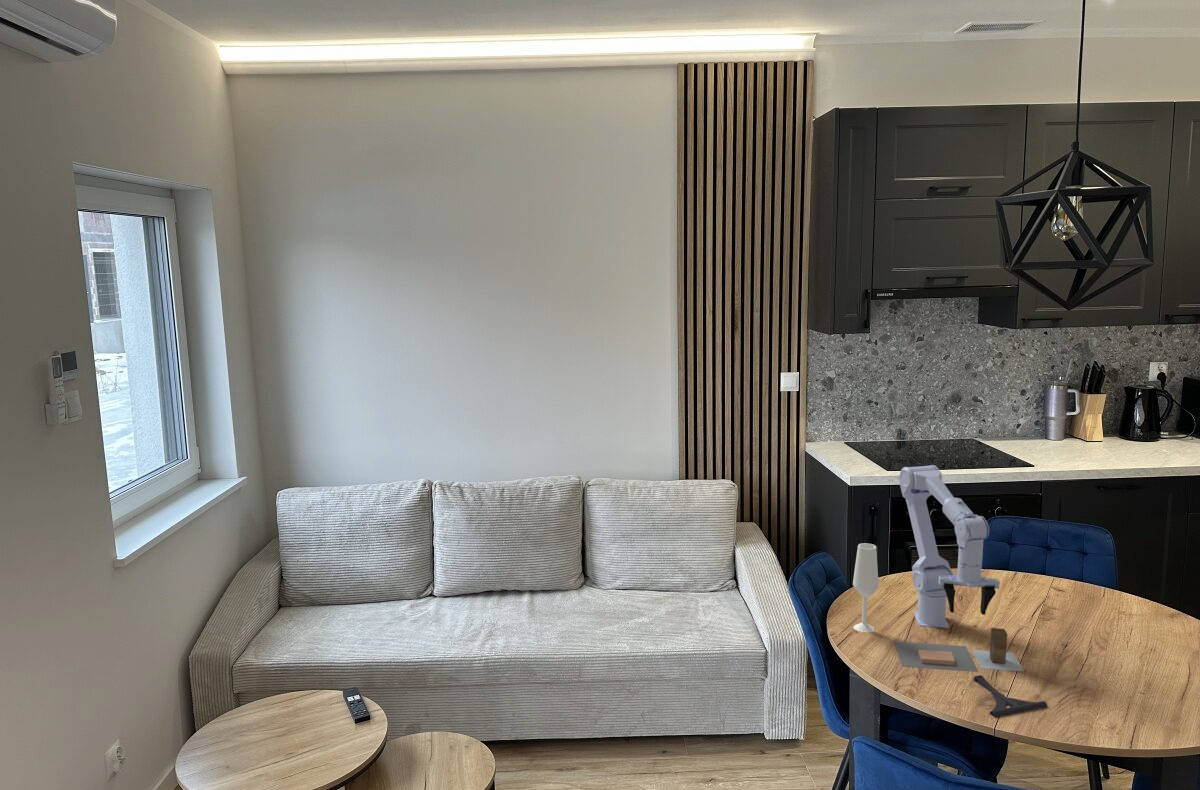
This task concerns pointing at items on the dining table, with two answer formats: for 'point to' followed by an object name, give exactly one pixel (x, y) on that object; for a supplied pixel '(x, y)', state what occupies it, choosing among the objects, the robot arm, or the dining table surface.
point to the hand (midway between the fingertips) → (967, 612)
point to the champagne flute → (865, 579)
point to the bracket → (1008, 701)
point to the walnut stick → (998, 645)
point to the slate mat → (910, 650)
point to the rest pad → (986, 663)
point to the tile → (936, 657)
